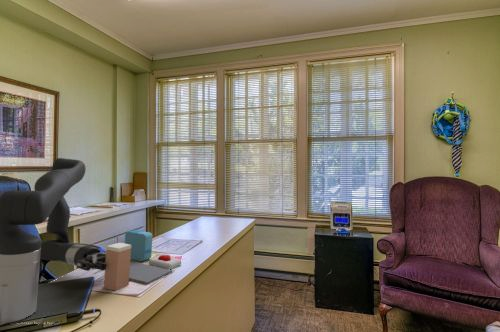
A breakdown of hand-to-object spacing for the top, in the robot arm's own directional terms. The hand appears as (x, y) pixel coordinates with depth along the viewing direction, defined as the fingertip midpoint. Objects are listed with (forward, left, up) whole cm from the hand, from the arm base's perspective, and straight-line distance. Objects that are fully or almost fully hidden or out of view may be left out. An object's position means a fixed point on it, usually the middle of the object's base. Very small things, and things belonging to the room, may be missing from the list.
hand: (115, 263), depth 95 cm
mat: (+13, +1, -8) cm, 15 cm away
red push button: (+26, -1, -8) cm, 28 cm away
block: (0, -1, -8) cm, 8 cm away
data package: (+26, +15, -8) cm, 31 cm away
